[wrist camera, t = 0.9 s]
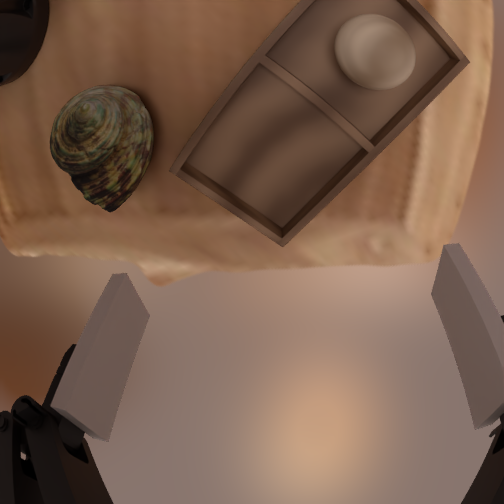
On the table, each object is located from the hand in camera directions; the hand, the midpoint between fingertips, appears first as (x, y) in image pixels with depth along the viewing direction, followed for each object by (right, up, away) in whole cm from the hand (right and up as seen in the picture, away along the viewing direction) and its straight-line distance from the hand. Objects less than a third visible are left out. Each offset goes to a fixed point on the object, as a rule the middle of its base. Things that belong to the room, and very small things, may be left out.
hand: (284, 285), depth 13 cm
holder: (+5, +15, +14) cm, 21 cm away
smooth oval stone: (+9, +19, +10) cm, 23 cm away
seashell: (-15, +14, +18) cm, 27 cm away
